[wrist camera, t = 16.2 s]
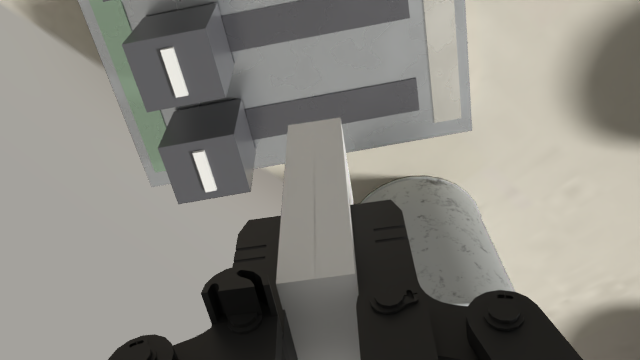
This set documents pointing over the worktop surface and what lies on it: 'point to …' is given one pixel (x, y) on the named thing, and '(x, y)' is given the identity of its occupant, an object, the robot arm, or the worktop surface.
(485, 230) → the grey stone cylinder
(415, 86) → the panel
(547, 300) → the worktop surface
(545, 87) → the worktop surface
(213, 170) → the breaker
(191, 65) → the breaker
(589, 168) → the worktop surface
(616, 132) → the worktop surface
